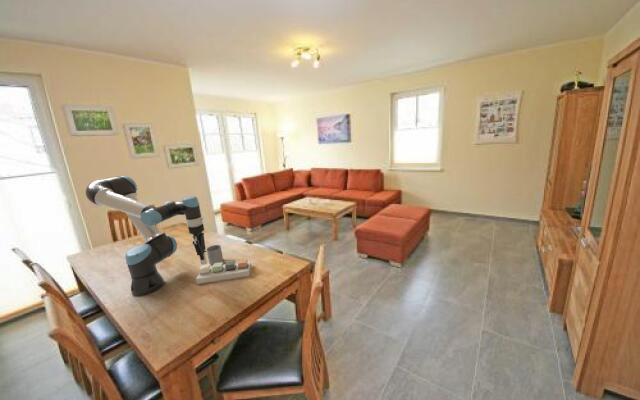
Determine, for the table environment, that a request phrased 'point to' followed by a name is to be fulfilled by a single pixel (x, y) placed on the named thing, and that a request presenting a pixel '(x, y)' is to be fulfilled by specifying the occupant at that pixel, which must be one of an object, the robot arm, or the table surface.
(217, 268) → the key sage
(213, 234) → the table surface
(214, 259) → the cup
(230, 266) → the key charcoal
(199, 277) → the keypad
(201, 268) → the key cream
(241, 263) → the key terracotta
